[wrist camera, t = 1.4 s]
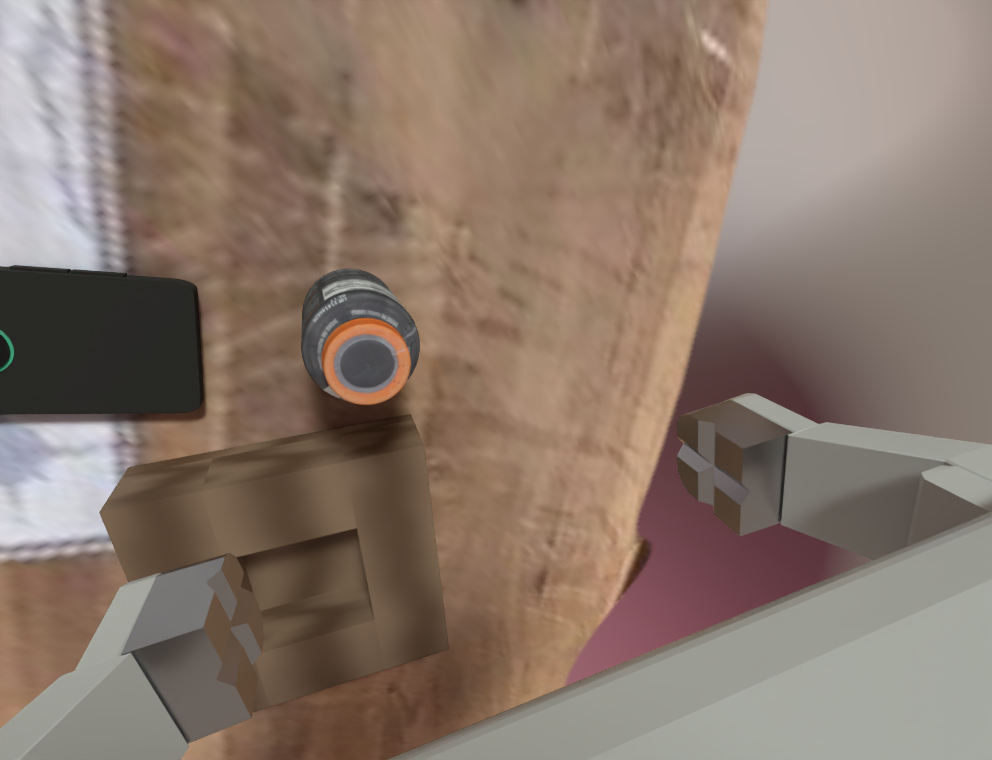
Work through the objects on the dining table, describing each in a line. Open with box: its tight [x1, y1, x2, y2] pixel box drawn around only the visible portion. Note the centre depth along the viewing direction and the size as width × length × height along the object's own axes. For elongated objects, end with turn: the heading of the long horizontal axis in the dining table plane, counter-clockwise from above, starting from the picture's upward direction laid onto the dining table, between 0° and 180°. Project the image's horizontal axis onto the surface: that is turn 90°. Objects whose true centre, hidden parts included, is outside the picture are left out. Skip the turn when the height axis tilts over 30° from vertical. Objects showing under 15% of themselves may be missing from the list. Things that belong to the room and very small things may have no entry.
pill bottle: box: [301, 269, 420, 405], centre depth 28 cm, size 6×6×11 cm
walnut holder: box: [99, 415, 449, 713], centre depth 36 cm, size 18×18×5 cm
